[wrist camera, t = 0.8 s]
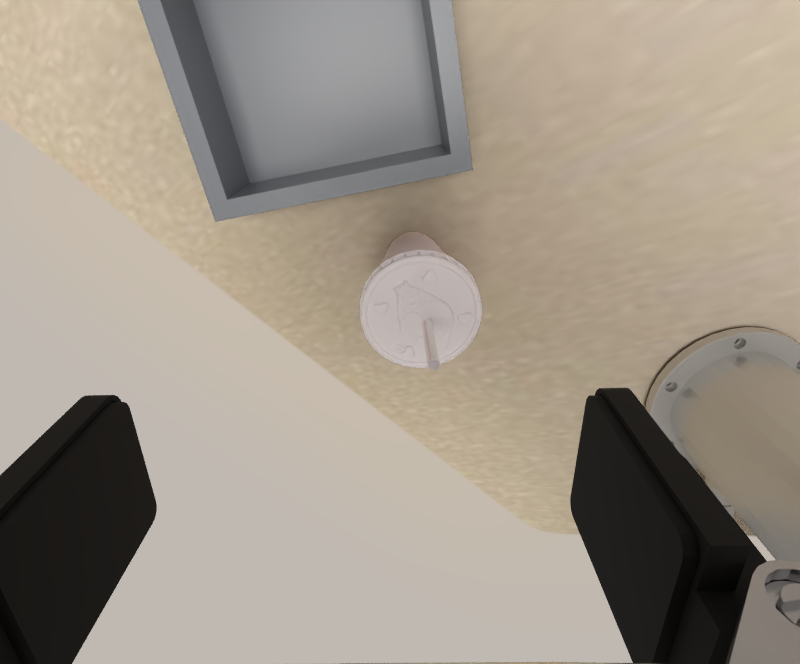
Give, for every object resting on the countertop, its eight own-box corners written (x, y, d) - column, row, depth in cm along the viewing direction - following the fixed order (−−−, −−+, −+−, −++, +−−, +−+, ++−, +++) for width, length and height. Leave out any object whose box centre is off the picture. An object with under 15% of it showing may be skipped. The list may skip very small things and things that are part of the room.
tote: (458, 155, 32) (472, 169, 27) (243, 199, 33) (215, 221, 28) (420, -127, 26) (428, -183, 21) (158, -65, 27) (101, -102, 22)
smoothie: (400, 318, 37) (406, 438, 24) (347, 246, 35) (323, 338, 22) (477, 270, 35) (526, 371, 23) (427, 191, 33) (451, 256, 20)
